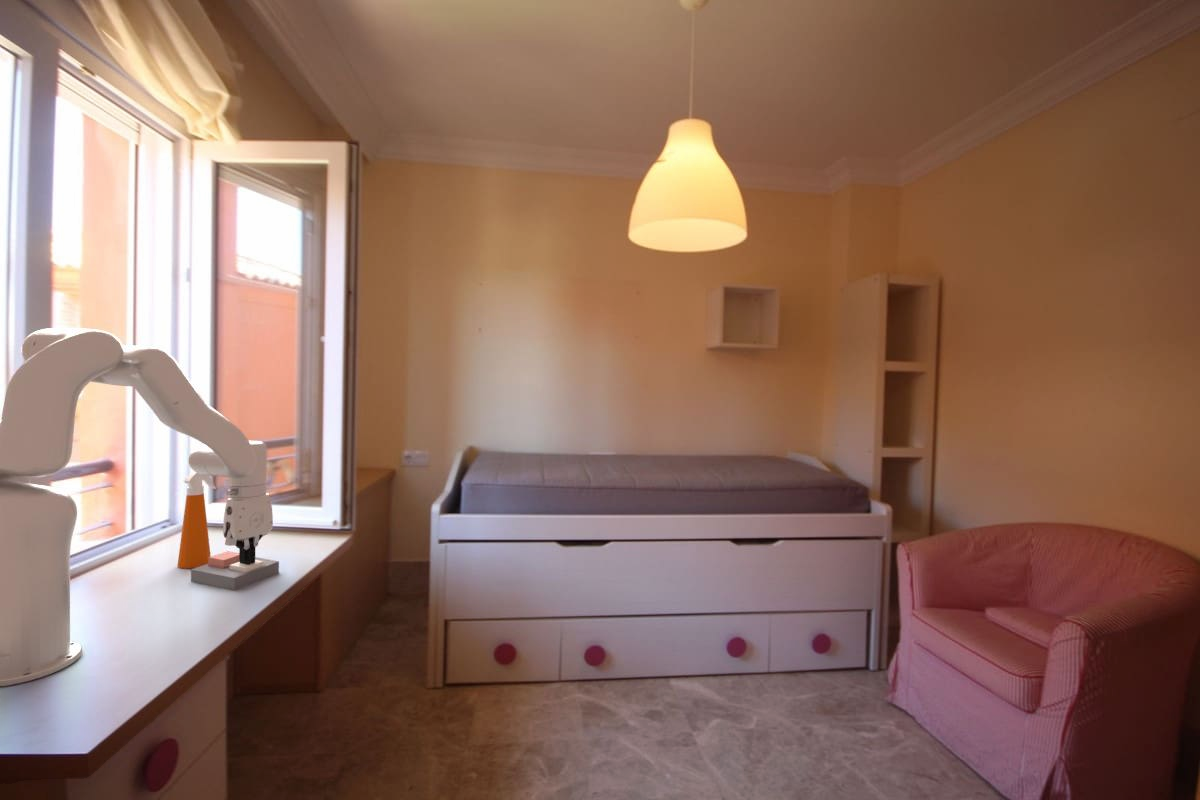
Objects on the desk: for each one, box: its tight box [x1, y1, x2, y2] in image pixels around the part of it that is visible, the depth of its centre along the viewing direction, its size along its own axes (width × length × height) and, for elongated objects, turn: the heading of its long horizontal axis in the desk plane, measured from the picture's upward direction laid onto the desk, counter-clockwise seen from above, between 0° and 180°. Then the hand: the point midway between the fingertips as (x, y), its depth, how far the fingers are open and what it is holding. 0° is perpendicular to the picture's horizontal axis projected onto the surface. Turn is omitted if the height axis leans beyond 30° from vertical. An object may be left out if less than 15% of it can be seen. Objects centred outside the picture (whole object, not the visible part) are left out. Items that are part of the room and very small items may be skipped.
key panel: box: [190, 556, 280, 591], centre depth 129 cm, size 12×14×3 cm
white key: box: [230, 560, 264, 573], centre depth 128 cm, size 5×5×2 cm
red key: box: [208, 550, 240, 569], centre depth 130 cm, size 5×5×2 cm
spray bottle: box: [177, 470, 217, 570], centre depth 138 cm, size 7×11×26 cm, turn 2°
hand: (247, 562), depth 129 cm, fingers closed
